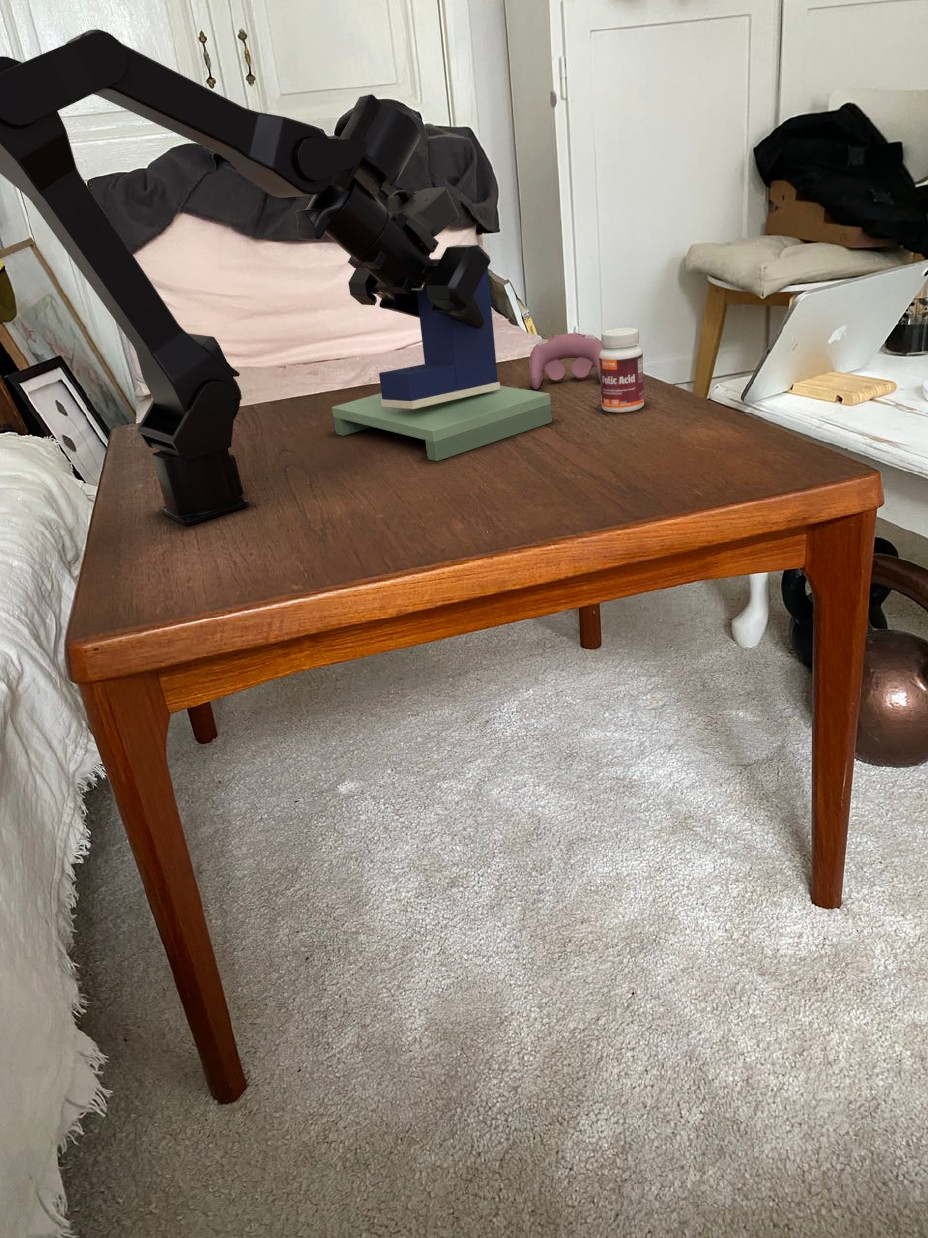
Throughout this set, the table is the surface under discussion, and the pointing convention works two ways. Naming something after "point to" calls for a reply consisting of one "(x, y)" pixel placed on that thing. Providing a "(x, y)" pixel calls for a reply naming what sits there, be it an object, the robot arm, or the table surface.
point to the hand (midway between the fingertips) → (465, 322)
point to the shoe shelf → (451, 419)
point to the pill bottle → (621, 371)
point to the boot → (446, 358)
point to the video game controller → (564, 357)
